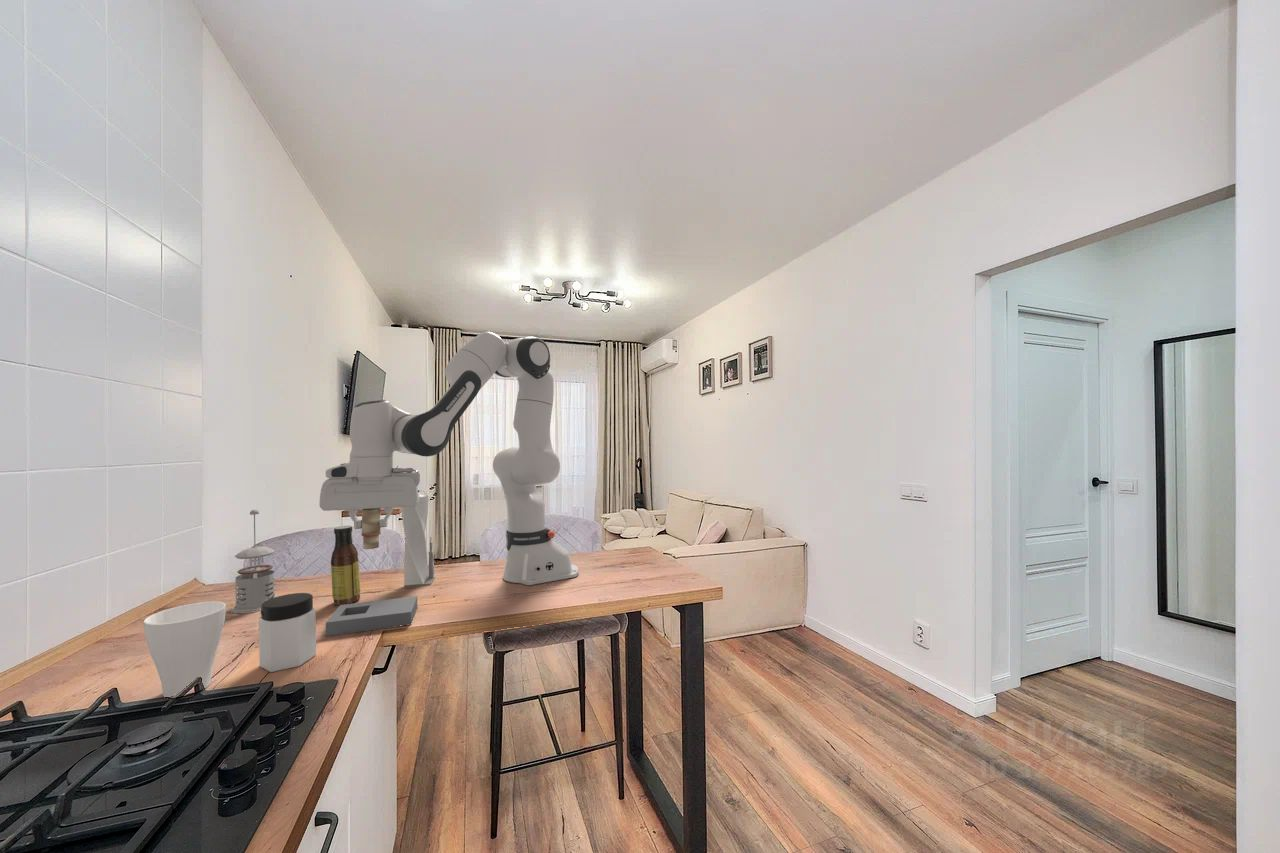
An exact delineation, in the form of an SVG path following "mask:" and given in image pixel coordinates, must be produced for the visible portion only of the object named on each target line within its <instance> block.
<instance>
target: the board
mask: <svg viewBox="0 0 1280 853" xmlns="http://www.w3.org/2000/svg"><path fill="white" fill-rule="evenodd" d="M416 610H418V595H415V596H413V595H412V596H408V597H407V596H405V597H395V598H388V599H379V600H373V601H372V600H371V601H363V602H354V603H350V604H344V605H338V606H337V608H336V609H335V611H333V613H332V614H331V615H330V617H329V618H328V619H327V620H326V621H325V636H326V637H331V636H337V635H345V634H352V633H361V632H368V631H374V630H382V629H383V628H384V629H389V628H388V627H391V628H395V627H394V626H399V627H401V626H400V625H406V626H408V625H407V624H411V623H412V624H413V622H412V621H414V619H415V616H416V613H417V611H416ZM413 618H414V619H413ZM412 624H411V625H412Z"/></svg>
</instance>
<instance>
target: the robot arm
mask: <svg viewBox="0 0 1280 853" xmlns="http://www.w3.org/2000/svg"><path fill="white" fill-rule="evenodd" d="M549 349H550V348H549V347H548V344H547V342H546V341H544V340H543V339H541V338H539V337H535V336H525V337H520V338H514V339H511V340H508V341H504V340H503V339H502V338H501V337H500V336H499V335H498V334H496V333H493V332H490V331H483V332H481V333H479V334H478V335H476V336H474V337H473V338H472V339H470V340H469V341H468V342H466V343H465V344H464V345H463V346H462V347H461V348H460V349H459V350H458V351H457V352H455V354H454V355H453V356H452V357H451V358H450V360H449V361H448V363H447V365H446V366H445V368H444V376H445V379H446V381H447V382H448V384H449V387H448V389H446V391H445V392H444V393H443V394H442V396H441V398H439V400H438V401H437V402H436V403H435V404H434V405H433V407H432V408H430V409H429V410H428V411H425V412H423V413H420V414H411V413H409V412H406V411H404V410H403V409H400V408H399V407H396V406H395V405H393V404H392V403H391V402H390V401H389V400H385V399H379V400H372V401H371V400H370V401H369V400H368V401H363V402H359V403H357V404H356V405H355V406H354V407H353V408H352V410H351V411H352V412H351V417H350V426H349V440H350V443H351V449H350V450H351V451H350V453H349V461H348V462H347V463H346V462H345V463H341V464H340V465H335V466H332V467H330V468H327V469H326V470H325V477H326V478H327V479H326V480H324V482H323V483H322V485H321V488H320V494H319V504H318V505H319V508H320V509H321V510H322V511H324V512H325V511H327V512H329V511H346V510H348V516H349V517H350V519H351V520H352V522H353V530H359V529H361V530H362V519H359V517H358V516H357V513H358V510H362V509H375V508H381V509H384V513H385V516H384V518H380V520H379V523H380V525H379V528H380V529H381V528H387V527H388V520H389V518H390V516H391V515H392V513H393V510H394V508H402V507H414V506H415V505H417V503H418V502H419V495H418V493H419V491H418V489H419V488H418V486H419V485H420V482H421V481H420V480H421V475H420V472H419V470H416V469H414V468H413V467H406V468H402V467H395V468H394V467H393V466H394V465H393V464H394V462H393V461H394V460H393V458H394V457H393V456H394V455H393V454H394V452H398V453H402V454H408V455H415V456H416V455H418V456H419V457H420V456H421V457H433V456H436V455H439V453H441V452H442V451H443V450H444V449H445V448H446V447H447V445H448V443H449V441H450V438H451V434H452V432H453V430H454V428H455V425H456V424H457V422H458V421H459V419H461V417H462V416H463V414H464V413H465V412H466V410H467V409H468V407H469V406H470V404H472V402H473V401H474V399H475V398H476V396H477V395H478V393H479V392H480V391H481V389H482V388H483V387H484V386H485V385H486V384H487V382H488V381H489V380H491V378H492V377H493V376H494V375H496V376H499V377H502V378H516V379H517V382H518V392H517V396H516V397H517V398H516V403H515V408H514V409H515V410H514V415H513V421H512V425H513V428H514V430H515V431H516V434H517V437H518V447H516V446H515V447H509V448H505V449H503V450H500V451H499V452H498V453H497V454H495V456H494V458H493V461H492V470H493V472H494V474H495V476H496V477H497V478H498V480H499V482H500V484H501V487H502V491H503V493H504V498H505V503H506V510H507V511H506V512H507V514H506V516H507V530H506V533H505V547H506V551H507V552H506V561H505V568H504V572H503V574H502V580H504V581H506V582H509V583H514V584H515V583H516V584H522V585H526V586H532V585H537V584H543V583H549V582H554V581H555V582H556V581H561V580H566V579H570V578H575V577H578V576H579V568H578V566H577V565H575V563H572V561H571V556H570V554H569V551H568V550H567V549H566V548H564V547H563V546H561V545H560V544H558V543H557V542H555V541H554V540H553V539H554V538H555V537H556V536H555V535H556V534H555V531H553V530H552V529H550V528H547V527H546V512H545V510H546V507H545V502H544V499H543V498H542V497H541V496H540V494H539V493H538V490H537V488H536V486H542V485H546V484H550V483H552V482H554V481H555V480H556V479H557V477H558V476H559V473H560V470H561V462H560V459H559V457H558V456H557V454H556V453H555V451H554V449H553V446H552V441H551V421H552V420H551V419H552V413H553V404H554V394H555V393H554V392H555V391H554V390H555V387H554V377H553V375H552V374H551V372H549V370H550V367H551V363H550V362H551V354H550V350H549Z"/></svg>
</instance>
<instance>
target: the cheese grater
mask: <svg viewBox="0 0 1280 853" xmlns="http://www.w3.org/2000/svg"><path fill="white" fill-rule="evenodd" d="M421 492H423V493H424V494H425V495H422V494H421ZM418 495H419V502H418V503H417V505H415V506H414V507H401V518H402V526H403V532H404V537H405V540H404V556H403V560H404V561H403V571H404V572H403V573H404V575H403V577H404V578H403V581H404V582H403V583H404V584H403V585H404V586H403V587H404V588H408V586H413V587H422V586H423V585H424V586H431V585H432V584H433V582H434V580H435V579H436V576H435V558H434V556H435V555H434V550H433V542H432V536H430V537H429V538H430V540H429V551H428V547H427V540H426V539H427V538H426V529H427V522H428V516H429V515H428V513H429V512H428V510H429V495H428V493H427V491H426V490H424V489H423V488H418ZM421 585H422V586H421Z"/></svg>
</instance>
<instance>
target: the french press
mask: <svg viewBox="0 0 1280 853" xmlns="http://www.w3.org/2000/svg"><path fill="white" fill-rule="evenodd" d="M259 514H260V511H259V510H258V509H252V510H250V512H249V515H251V516H252V515H253V540H254V541H253V545H254V546H252V547H249V548H248V547H247V548H246V549H243V550H240V552H238V553H236V554H235V555H234V557H235V558H236V559H237V560H238V559H239V560H249V559H250V560H249V562H250V566H247V567H243V568H241V569H239V570H238V571H237V574H239V575H237V576H236V577H235V605H234V607H233V608H232V609H231V610H230V612H231V613H232V612H233V613H232V614H237V613H241V614H248V613H247V612H251V613H253V612H252V611H257V610H260V609H261V605H262V604H263V603H264V602H265V601H267V600H269V599H272V598H275V597H276V587H275V585H276V582H275V581H276V580H275V579H276V578H275V577H276V575H275V571H274V570H272V569H273V565H271V564H261V563H260V561H261V559H260V558H264V557H267V556H270V555H273V554H274V553H275V552H276V551H275V549H273V548H271V547H267V546H256V515H259ZM253 559H254V560H253ZM257 561H258V563H257ZM253 562H254V565H253ZM256 563H257V564H258V565H257V564H256ZM252 565H253V566H252ZM255 574H256V577H254V575H255ZM257 612H258V611H257Z"/></svg>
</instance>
